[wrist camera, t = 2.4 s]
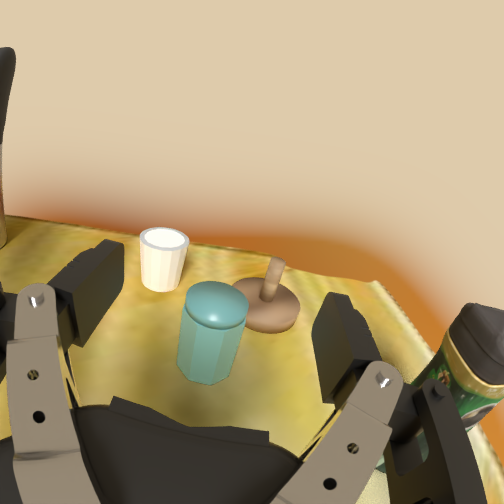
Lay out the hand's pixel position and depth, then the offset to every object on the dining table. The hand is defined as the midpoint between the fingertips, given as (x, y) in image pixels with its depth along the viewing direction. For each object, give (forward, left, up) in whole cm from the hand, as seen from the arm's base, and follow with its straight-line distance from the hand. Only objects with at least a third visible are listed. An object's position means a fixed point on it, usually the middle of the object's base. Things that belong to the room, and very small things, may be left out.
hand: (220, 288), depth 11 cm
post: (-12, +21, -18) cm, 30 cm away
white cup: (-24, +11, -18) cm, 32 cm away
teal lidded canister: (-8, +8, -18) cm, 21 cm away
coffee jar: (+14, +17, -18) cm, 29 cm away
